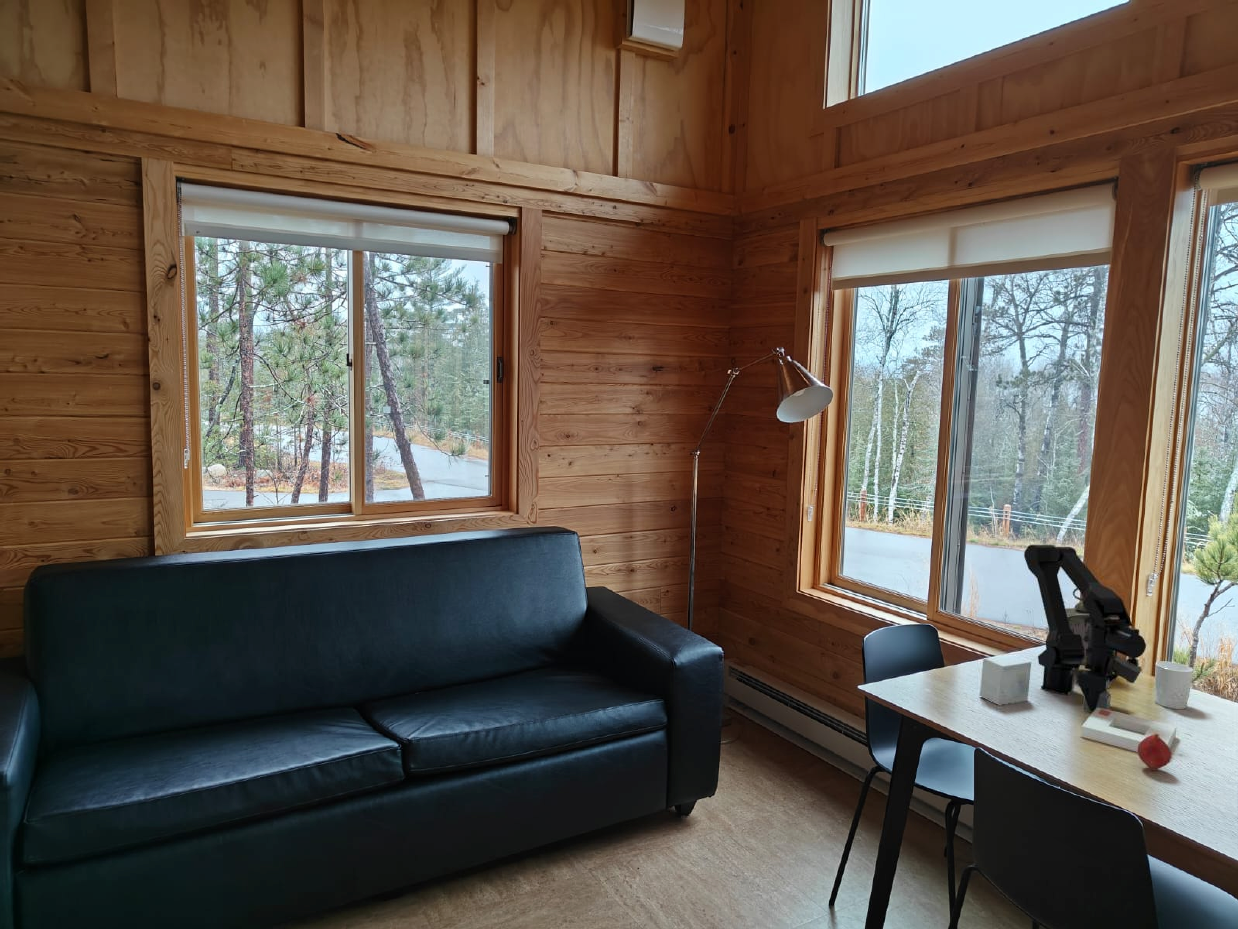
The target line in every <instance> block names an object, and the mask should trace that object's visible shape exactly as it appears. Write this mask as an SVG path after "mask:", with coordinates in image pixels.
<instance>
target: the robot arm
mask: <svg viewBox="0 0 1238 929" xmlns="http://www.w3.org/2000/svg"><path fill="white" fill-rule="evenodd" d="M1077 554H1078V553H1077V550H1076V549H1075V548H1073V547H1071V546H1055V545H1053V544H1030V545H1028V546H1027V548H1026V549H1025V550H1024V554H1023V556H1024V560H1025V563H1026V566H1027V568H1028V570H1029V571H1030V573H1031V574H1032V575H1033V576H1034V577H1035V578H1036V580H1037V584H1038V587H1039V592H1040V596H1041V602H1042V604H1043V610H1044V613H1045V617H1046V622H1047V625H1048V626H1047V627H1048V631H1049V632H1048V633H1047V636H1046V639H1045V650H1044V651H1042V652H1040V654H1039V655H1038V656H1037V660H1038V665H1040V666H1042V667H1043V676H1042V677H1043V678H1042V679H1043V680H1042V685H1041V686H1040V689H1041V690H1045V691H1049V692H1052V693H1057V694H1062V695H1065V696H1067V695H1069V694H1070V693H1072V692H1073V691H1074V689H1075V679H1076V684H1077V685H1078V687H1079V688H1080V690H1081V693H1082V695H1083V698H1084V697H1085V700H1086V702H1087V705H1088V707H1089V710H1090V711H1092V712H1091V713H1093V712H1094V711H1095V709H1096V707H1097V704H1098V701H1099V697H1100V694H1101V693H1102V692H1105V691H1108V689H1109V687H1110V684H1111V682H1113V681H1114V680H1115V679H1117V678H1118V677H1121V678H1122V679H1124V680H1125V681H1126V682H1128V683H1131V684H1134V683H1135V682H1136V681H1137V679H1138V677H1139V675H1140V673H1141V672H1142V670H1143V669H1142V667H1141V666H1139V664H1140V663H1139V659H1137V658H1139V657H1141V656H1142V655H1143V654H1144V653H1145V651H1146V647H1147V643H1146V641H1145V638H1144V637H1143V636H1142V635H1140V630H1139V629H1138V628H1135V627H1132V626H1133V622H1132V620H1131V617H1130V615H1129V613H1128V611H1127V608H1126V607H1125V606H1126V605H1125V603H1124V600H1123V599H1122V598H1121V597H1120V595H1119V594H1117V593H1116V592H1115V591H1114V590H1113V589H1111V588H1108V587H1107V586H1104V585H1103V583H1101V582H1100V581H1098V579H1097V578H1096V577H1095V576H1094V574H1093V573H1092V572H1091V571H1090V569H1089V568H1088V567H1087V566H1086V564H1085V563H1084V562H1083V560H1082V559H1081V558H1080V557H1079V556H1078V555H1077ZM1060 569H1062V570H1063V572H1064V573H1065V574H1066V575H1067V577H1068V578H1069V579H1070V581H1071V582H1072V583H1073V584H1074V586H1075V587H1076V588H1078V590H1077V591H1079V592H1080V593H1081V596H1082V598H1083V599H1082V601H1081V602H1082V603H1083V605H1084V606H1085V608H1086V610H1087V612H1088V613H1089V615H1090V616H1089V617H1087V618H1085V619H1084V622H1087V623H1089V624H1090V632H1089V643H1088V647H1087V648H1086V652H1087V653H1088V655H1087V663H1086V664H1085V666H1084V669H1083V670H1082V671H1080V672H1079V673H1078V674H1077V676H1076V674H1075V673H1074V669H1079V670H1080V667H1081V666H1082V665H1081V663H1082V660H1083V658H1084V650H1085V648H1084V646H1083V643H1082V637H1081V636H1080V634H1075V633H1074V632H1073V631H1072V630H1071V629H1070V626H1069V622H1068V618H1067V613H1066V609H1065V608H1066V606H1065V601H1064V599H1063V593H1062V590H1061V586H1060V585H1061V584H1060V581H1059V577H1058V575H1059V571H1060ZM1104 618H1111V619H1104ZM1119 654H1121V655H1123V656H1126V657H1128V658H1127V659H1126V658H1125V657H1120V656H1119ZM1090 711H1089V712H1090Z"/></svg>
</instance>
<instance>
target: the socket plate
mask: <svg viewBox="0 0 1238 929" xmlns="http://www.w3.org/2000/svg"><path fill="white" fill-rule="evenodd" d="M1155 733H1158V734H1159V737H1160V738H1161V739H1162V740H1163V741H1164V742H1165V743H1166V744H1167V745H1168V747H1169V749H1170V748H1171V746H1172V745H1173V743H1174V741H1175V739H1176V734H1177V726H1175V725H1173V724H1169V723H1164V722H1160V721H1155V720H1151V719H1148V718H1144V717H1140V716H1136V715H1130V714H1127V713H1124V712H1123V713H1122V712H1119V711H1115V710H1111V709H1110V710H1107V709H1103V708H1099V707H1097V708H1096V709H1095V711H1094V712H1091V714H1090V715H1089V717H1088V718H1087V719H1086V720H1085V721H1084V723H1083V724H1082V725H1081V732H1080V738H1085V739H1089V740H1092V741H1095V742H1099V743H1103V744H1107V745H1110V746H1115V747H1118V748H1122V749H1126V750H1129V751H1132V752H1137V753H1138V745H1139V744H1140V742H1141V741H1142V740H1144V739H1145V738H1146V737H1149V736H1151V735H1154V734H1155ZM1170 750H1171V749H1170Z"/></svg>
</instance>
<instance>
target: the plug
mask: <svg viewBox="0 0 1238 929" xmlns="http://www.w3.org/2000/svg"><path fill="white" fill-rule="evenodd" d="M1111 698H1112V694H1111V693H1110V691H1108V690H1107V691H1105V692H1102V693H1101V694H1100V697H1099V701H1098V704H1097V707H1099V708H1103V709H1107V710H1111ZM1097 707H1096V708H1097ZM1082 710H1083V711H1087V712H1090V713H1093V712H1092V711H1090V710H1089V707H1088V705H1087V702H1086V700H1085V697H1084V696H1083V706H1082Z"/></svg>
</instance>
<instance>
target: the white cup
mask: <svg viewBox="0 0 1238 929" xmlns="http://www.w3.org/2000/svg"><path fill="white" fill-rule="evenodd" d="M1193 672H1194V668H1192V667H1191V666H1189V665H1186V664H1183V663H1179V662H1173V661H1167V660H1166V661H1163V660H1161V661H1156V662H1155V675H1154V691H1155V694H1154V695H1155V696H1154V697H1155V698H1154V700H1155V703H1156V704H1157V705H1160V706H1162V707H1166V708H1170V709H1173V708H1176V709H1175V710H1184V708H1185V709H1186V708H1188V702H1189V698H1190V692H1191V685H1192V679H1193Z"/></svg>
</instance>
